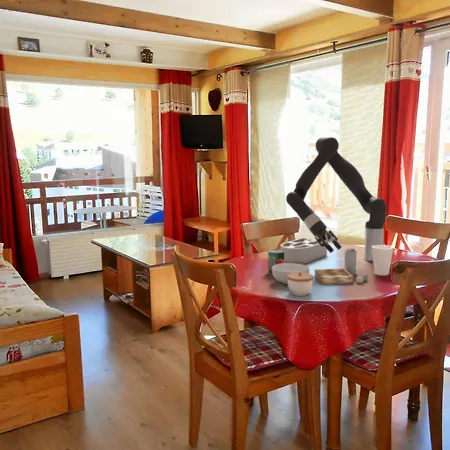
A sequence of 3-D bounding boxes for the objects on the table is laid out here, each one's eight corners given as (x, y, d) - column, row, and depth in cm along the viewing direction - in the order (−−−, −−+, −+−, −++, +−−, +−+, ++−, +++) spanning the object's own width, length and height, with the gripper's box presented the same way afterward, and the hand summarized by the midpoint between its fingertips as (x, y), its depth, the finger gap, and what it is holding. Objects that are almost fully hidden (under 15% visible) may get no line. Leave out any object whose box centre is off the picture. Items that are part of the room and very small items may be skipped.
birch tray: (344, 274, 223) (344, 268, 223) (353, 283, 209) (353, 276, 209) (314, 275, 223) (314, 269, 222) (321, 284, 209) (321, 277, 208)
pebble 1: (362, 281, 211) (362, 275, 211) (364, 283, 208) (364, 276, 207) (355, 282, 211) (355, 275, 210) (357, 284, 208) (357, 277, 207)
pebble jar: (354, 272, 228) (354, 246, 226) (357, 275, 222) (358, 248, 220) (342, 272, 228) (343, 246, 226) (346, 275, 222) (346, 249, 220)
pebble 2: (366, 279, 214) (366, 273, 214) (368, 281, 211) (369, 274, 210) (359, 280, 214) (359, 273, 213) (361, 282, 211) (362, 275, 210)
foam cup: (392, 271, 226) (393, 245, 224) (392, 276, 218) (393, 249, 216) (371, 270, 230) (372, 244, 228) (370, 275, 221) (371, 248, 219)
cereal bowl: (300, 289, 202) (300, 273, 201) (265, 284, 211) (265, 269, 210) (315, 280, 216) (315, 265, 215) (282, 275, 225) (281, 261, 224)
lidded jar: (284, 290, 201) (284, 269, 200) (309, 289, 202) (309, 268, 201) (290, 298, 191) (290, 275, 189) (316, 296, 192) (316, 274, 190)
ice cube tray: (327, 255, 264) (327, 240, 262) (301, 266, 243) (301, 249, 241) (301, 252, 274) (301, 237, 273) (274, 261, 253) (274, 246, 252)
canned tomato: (283, 275, 225) (283, 252, 224) (267, 274, 227) (267, 252, 225) (285, 270, 233) (285, 249, 231) (269, 270, 235) (269, 248, 233)
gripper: (313, 221, 223) (335, 248, 218) (326, 217, 234) (347, 242, 229) (303, 231, 227) (324, 257, 222) (316, 227, 238) (337, 252, 233)
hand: (336, 250), depth 226 cm, fingers open, 8 cm apart
